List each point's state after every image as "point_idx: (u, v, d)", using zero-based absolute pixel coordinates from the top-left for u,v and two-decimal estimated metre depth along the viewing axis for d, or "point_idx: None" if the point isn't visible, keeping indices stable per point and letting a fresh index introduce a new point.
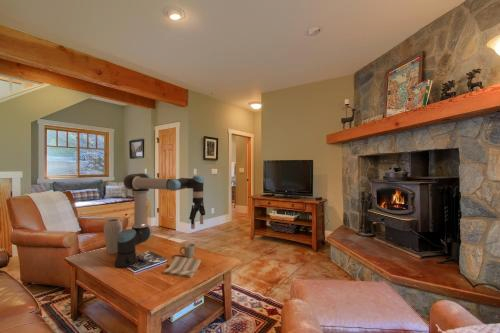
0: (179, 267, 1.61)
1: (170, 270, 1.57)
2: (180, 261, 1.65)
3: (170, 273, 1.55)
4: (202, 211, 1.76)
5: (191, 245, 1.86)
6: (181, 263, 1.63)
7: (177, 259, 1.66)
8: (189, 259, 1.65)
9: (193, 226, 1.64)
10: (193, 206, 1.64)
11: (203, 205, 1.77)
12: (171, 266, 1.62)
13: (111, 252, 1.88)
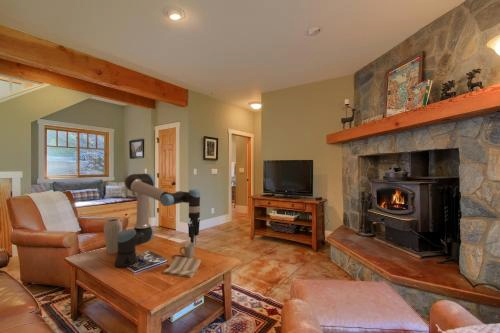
0: (179, 267, 1.61)
1: (170, 270, 1.57)
2: (180, 261, 1.65)
3: (170, 273, 1.55)
4: (196, 229, 1.66)
5: None
6: (181, 263, 1.63)
7: (177, 259, 1.66)
8: (189, 259, 1.65)
9: (192, 244, 1.62)
10: (189, 225, 1.58)
11: (199, 222, 1.69)
12: (171, 266, 1.62)
13: (111, 252, 1.88)
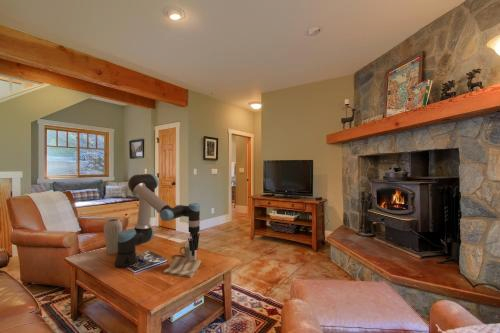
0: (179, 267, 1.61)
1: (170, 270, 1.57)
2: (180, 261, 1.65)
3: (170, 273, 1.55)
4: (196, 243, 1.65)
5: None
6: (181, 263, 1.63)
7: (177, 259, 1.66)
8: (189, 259, 1.65)
9: (194, 257, 1.63)
10: (189, 240, 1.58)
11: (198, 237, 1.69)
12: (171, 266, 1.62)
13: (111, 252, 1.88)
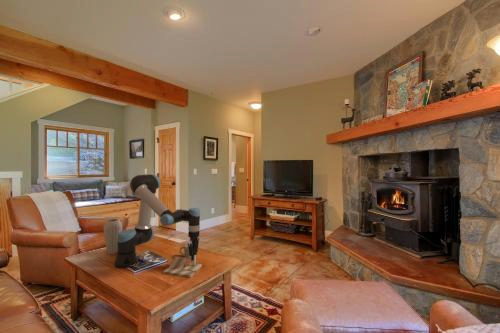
0: (179, 267, 1.61)
1: (170, 270, 1.57)
2: (180, 261, 1.65)
3: (170, 273, 1.55)
4: (195, 248, 1.65)
5: None
6: (181, 263, 1.63)
7: (177, 259, 1.66)
8: (190, 263, 1.67)
9: (193, 262, 1.64)
10: (189, 245, 1.58)
11: (198, 241, 1.69)
12: (171, 266, 1.62)
13: (111, 252, 1.88)
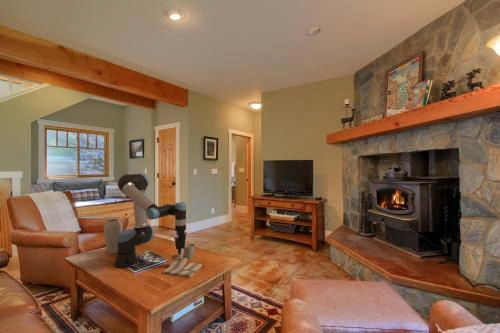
0: (179, 267, 1.61)
1: (170, 270, 1.57)
2: (180, 261, 1.65)
3: (170, 273, 1.55)
4: (182, 242, 1.68)
5: (191, 245, 1.86)
6: (181, 264, 1.63)
7: (177, 259, 1.67)
8: (190, 263, 1.67)
9: (180, 255, 1.66)
10: (175, 238, 1.61)
11: (185, 235, 1.71)
12: (171, 266, 1.62)
13: (111, 252, 1.88)
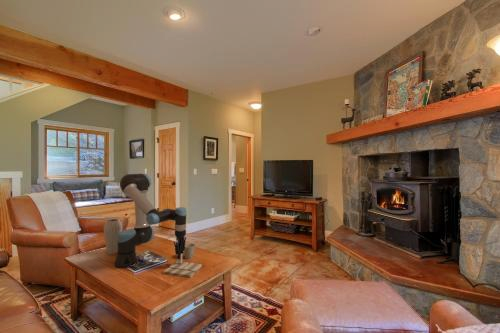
0: (180, 267, 1.62)
1: (170, 270, 1.57)
2: (181, 264, 1.66)
3: (170, 273, 1.55)
4: (182, 247, 1.68)
5: (191, 245, 1.86)
6: (182, 265, 1.64)
7: None
8: (190, 263, 1.67)
9: (180, 260, 1.66)
10: (175, 243, 1.61)
11: (185, 240, 1.71)
12: (172, 266, 1.63)
13: (111, 252, 1.88)
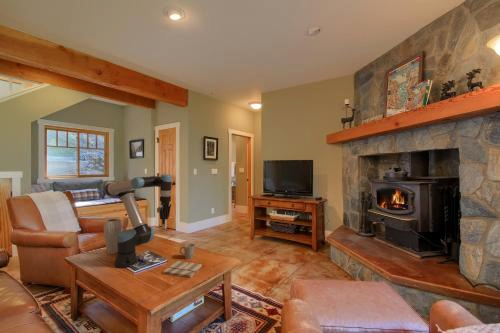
0: (180, 267, 1.62)
1: (170, 270, 1.57)
2: (181, 264, 1.66)
3: (170, 273, 1.55)
4: (167, 213, 1.72)
5: (191, 245, 1.86)
6: (182, 265, 1.64)
7: (178, 262, 1.68)
8: (190, 263, 1.67)
9: (164, 226, 1.71)
10: (160, 208, 1.65)
11: (170, 207, 1.76)
12: (172, 266, 1.63)
13: (111, 252, 1.88)
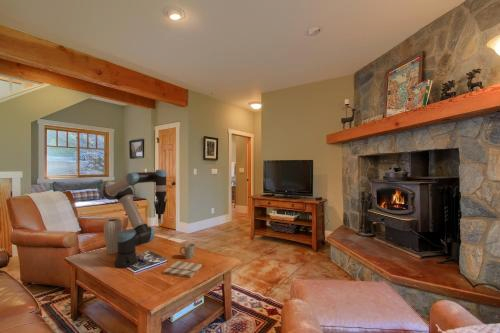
0: (180, 267, 1.62)
1: (170, 270, 1.57)
2: (181, 264, 1.66)
3: (170, 273, 1.55)
4: (162, 208, 1.73)
5: (191, 245, 1.86)
6: (182, 265, 1.64)
7: (178, 262, 1.68)
8: (190, 263, 1.67)
9: (160, 220, 1.72)
10: (155, 203, 1.67)
11: None
12: (172, 266, 1.63)
13: (111, 252, 1.88)
